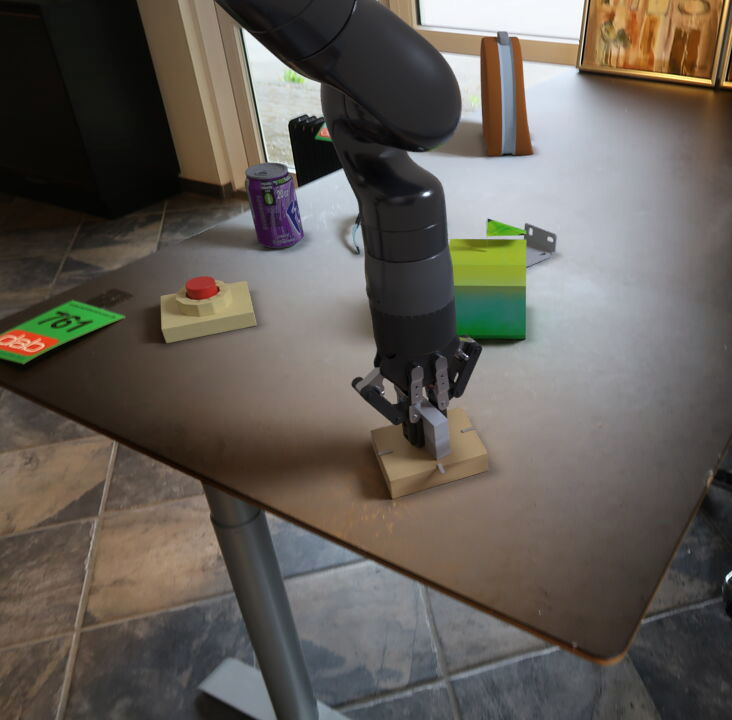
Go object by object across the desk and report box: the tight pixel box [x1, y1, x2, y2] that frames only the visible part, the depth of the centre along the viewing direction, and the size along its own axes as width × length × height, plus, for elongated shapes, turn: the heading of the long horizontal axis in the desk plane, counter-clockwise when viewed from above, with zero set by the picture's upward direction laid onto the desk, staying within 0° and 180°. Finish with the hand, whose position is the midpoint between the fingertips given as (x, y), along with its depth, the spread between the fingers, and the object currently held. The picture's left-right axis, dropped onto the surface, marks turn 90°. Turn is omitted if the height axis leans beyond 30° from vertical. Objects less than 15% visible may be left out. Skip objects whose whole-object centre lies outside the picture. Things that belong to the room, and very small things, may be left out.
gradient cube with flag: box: [448, 218, 527, 340], centre depth 90 cm, size 11×10×15 cm
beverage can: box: [244, 162, 305, 249], centre depth 110 cm, size 7×7×12 cm
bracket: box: [523, 222, 558, 268], centre depth 109 cm, size 7×10×4 cm, turn 140°
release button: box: [184, 275, 218, 300], centre depth 92 cm, size 4×4×2 cm
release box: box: [160, 279, 258, 344], centre depth 93 cm, size 11×9×4 cm
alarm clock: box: [479, 30, 535, 157], centre depth 148 cm, size 22×10×23 cm, turn 8°
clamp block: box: [370, 406, 489, 500], centre depth 72 cm, size 10×10×3 cm
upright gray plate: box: [420, 395, 450, 460], centre depth 70 cm, size 6×2×5 cm, turn 39°
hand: (427, 437), depth 72 cm, fingers closed, pressing on upright gray plate
